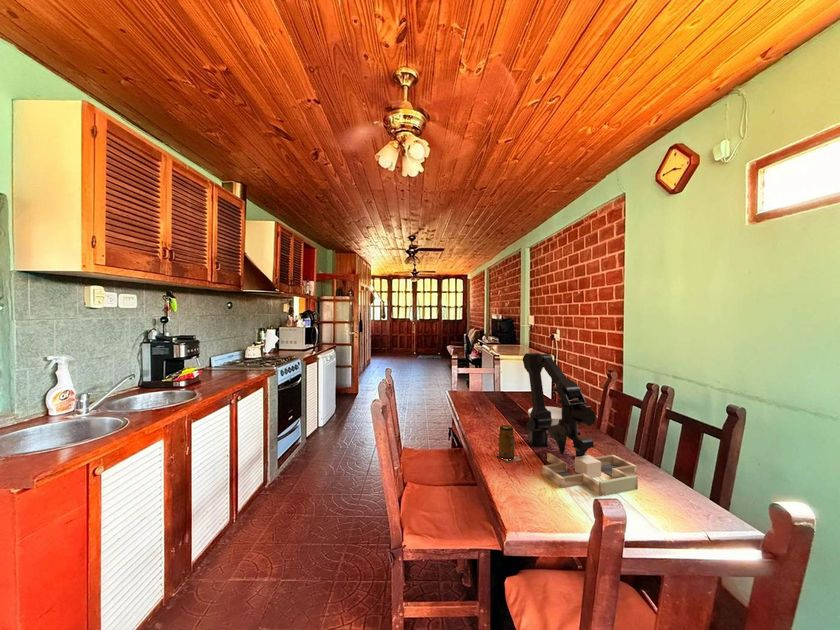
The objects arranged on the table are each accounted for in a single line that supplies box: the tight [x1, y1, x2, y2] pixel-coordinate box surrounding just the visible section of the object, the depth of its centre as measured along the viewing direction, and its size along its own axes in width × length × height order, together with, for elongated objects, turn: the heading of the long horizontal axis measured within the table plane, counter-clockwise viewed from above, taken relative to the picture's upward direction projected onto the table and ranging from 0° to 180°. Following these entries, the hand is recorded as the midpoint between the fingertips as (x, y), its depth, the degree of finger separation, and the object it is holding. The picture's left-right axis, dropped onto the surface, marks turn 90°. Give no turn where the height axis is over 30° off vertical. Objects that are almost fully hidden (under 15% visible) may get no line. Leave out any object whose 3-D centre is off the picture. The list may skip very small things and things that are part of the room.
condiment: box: [493, 424, 522, 463], centre depth 142 cm, size 7×8×12 cm
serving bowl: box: [527, 405, 562, 426], centre depth 181 cm, size 21×21×7 cm
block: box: [574, 454, 602, 478], centre depth 128 cm, size 6×6×5 cm
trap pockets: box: [541, 454, 638, 489], centre depth 127 cm, size 10×32×3 cm, turn 107°
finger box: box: [546, 452, 639, 496], centre depth 127 cm, size 27×14×4 cm, turn 17°
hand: (569, 458), depth 137 cm, fingers open, 9 cm apart
